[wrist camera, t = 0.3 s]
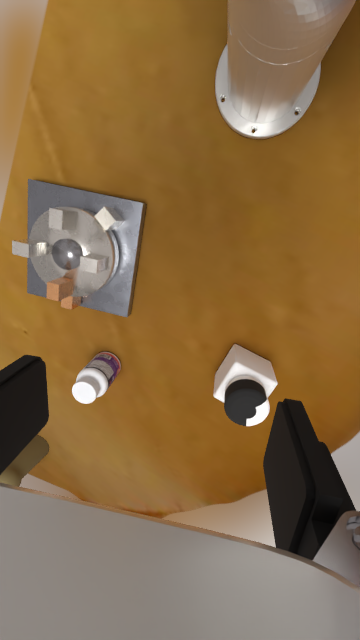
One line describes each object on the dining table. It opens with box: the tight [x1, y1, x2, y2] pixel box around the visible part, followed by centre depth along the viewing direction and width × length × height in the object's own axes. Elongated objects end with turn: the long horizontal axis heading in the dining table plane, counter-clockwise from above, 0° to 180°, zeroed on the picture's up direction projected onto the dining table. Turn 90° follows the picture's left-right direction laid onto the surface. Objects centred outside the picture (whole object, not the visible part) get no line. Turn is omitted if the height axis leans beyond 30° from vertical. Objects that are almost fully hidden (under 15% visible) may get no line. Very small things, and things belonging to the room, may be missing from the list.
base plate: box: [27, 179, 147, 317], centre depth 44 cm, size 18×18×6 cm
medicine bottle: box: [214, 344, 277, 426], centre depth 44 cm, size 7×7×12 cm
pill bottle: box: [72, 352, 121, 404], centre depth 49 cm, size 5×5×10 cm
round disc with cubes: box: [12, 207, 119, 309], centre depth 42 cm, size 15×13×7 cm
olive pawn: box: [0, 435, 49, 487], centre depth 58 cm, size 6×6×11 cm
